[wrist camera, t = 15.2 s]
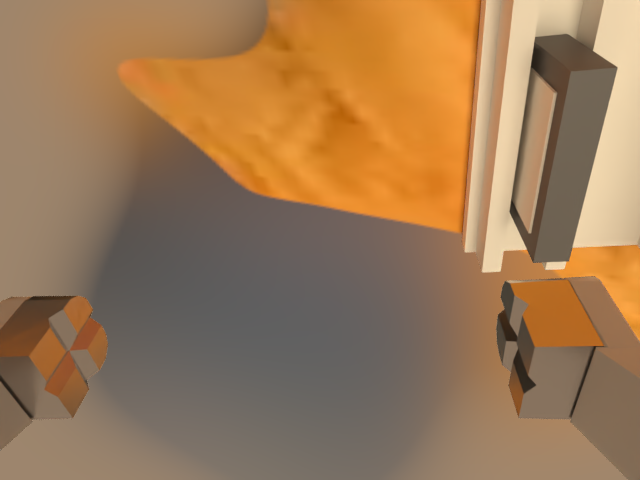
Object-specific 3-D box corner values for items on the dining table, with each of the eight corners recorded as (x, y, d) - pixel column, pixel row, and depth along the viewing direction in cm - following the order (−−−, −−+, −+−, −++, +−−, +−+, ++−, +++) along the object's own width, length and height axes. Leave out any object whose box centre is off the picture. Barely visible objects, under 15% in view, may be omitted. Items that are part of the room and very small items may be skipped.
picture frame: (527, 37, 33) (567, 71, 27) (570, 33, 33) (621, 67, 26) (504, 205, 41) (530, 262, 35) (538, 203, 41) (571, 261, 35)
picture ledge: (484, -41, 32) (583, 9, 18) (761, -74, 30) (1121, -46, 16) (461, 243, 46) (506, 396, 32) (649, 234, 44) (786, 394, 30)
